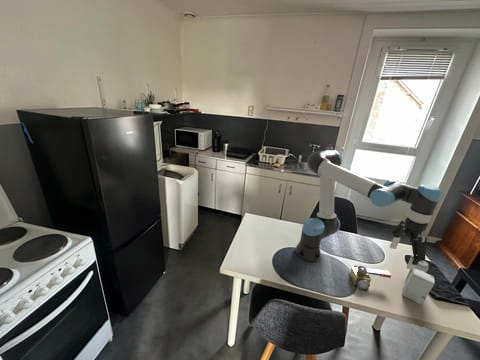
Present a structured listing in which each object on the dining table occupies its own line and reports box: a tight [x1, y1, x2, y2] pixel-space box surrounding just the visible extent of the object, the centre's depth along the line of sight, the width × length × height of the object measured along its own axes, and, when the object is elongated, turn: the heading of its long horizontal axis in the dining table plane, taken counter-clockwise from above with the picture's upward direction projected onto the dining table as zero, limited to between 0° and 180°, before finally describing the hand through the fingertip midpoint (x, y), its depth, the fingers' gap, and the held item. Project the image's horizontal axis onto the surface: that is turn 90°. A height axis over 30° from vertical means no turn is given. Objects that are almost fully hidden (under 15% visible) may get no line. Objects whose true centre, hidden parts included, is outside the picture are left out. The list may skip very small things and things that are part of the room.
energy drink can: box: [405, 260, 429, 282], centre depth 109 cm, size 6×6×15 cm
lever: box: [357, 265, 392, 279], centre depth 108 cm, size 16×4×2 cm, turn 81°
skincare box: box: [401, 268, 435, 306], centre depth 101 cm, size 8×6×15 cm
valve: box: [349, 265, 372, 292], centre depth 110 cm, size 13×7×6 cm, turn 171°
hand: (400, 257), depth 96 cm, fingers open, 13 cm apart
